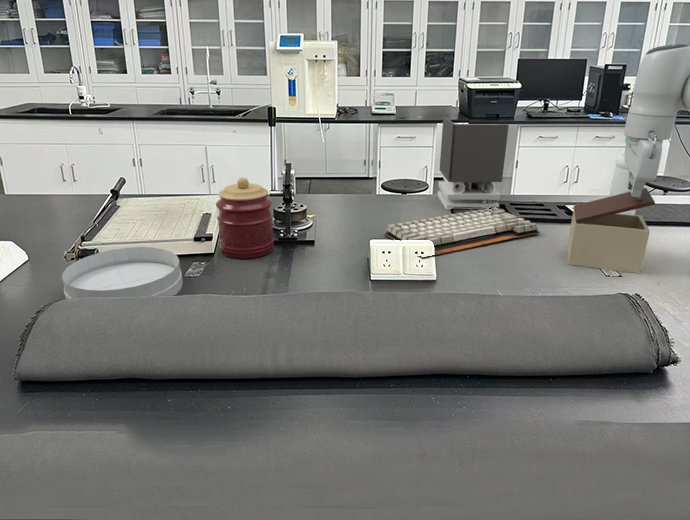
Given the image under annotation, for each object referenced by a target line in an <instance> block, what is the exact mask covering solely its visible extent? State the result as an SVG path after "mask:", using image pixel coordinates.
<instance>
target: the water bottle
mask: <svg viewBox="0 0 690 520" xmlns="http://www.w3.org/2000/svg"><path fill="white" fill-rule="evenodd" d="M626 139H627V136H625V139H624V142H625V143H624V144H625V145H626ZM624 157H625V148H624V149H623V150H621V153H620V155H619V156H618V157H617V158H616V160H615V168H614V171H613V175H612V180H611V185H610V189H609V197H611V196H615V195H619V194H623V193H627V192H631V190H629V189H628V188H627V184H628V176H629V168H628V166H627V165H626V163H625V160H624ZM636 211H637V209H634V210H630V211H626V212H622V213H620V214H630V215H636Z"/></svg>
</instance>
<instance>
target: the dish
mask: <svg viewBox="0 0 690 520" xmlns="http://www.w3.org/2000/svg"><path fill="white" fill-rule="evenodd" d="M180 263H181V262H180V259H179V257H178V255H176V254H175V253H173V252H172V251H170V250H167V249H164V248H158V247H151V246H149V247H147V246H143V247H142V246H135V247H123V248H115V249H109V250H105V251H101V252H97V253H94V254H90V255H88V256H85V257H83V258H81V259H78V260H76V261H74V262H72V263H71V264H70V265H68V266H67V267H66V268H65V269H64V271H63V272H62V276H61V280H62V285H63V294H64V298H65V300H66V299H71V298H87V297H139V296H165V295H175V296H177V294H178V293H179V292H180V291H181V290H182V288H183V284H184V281H183V272H182V269H181V264H180Z"/></svg>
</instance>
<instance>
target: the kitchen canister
mask: <svg viewBox="0 0 690 520" xmlns="http://www.w3.org/2000/svg"><path fill="white" fill-rule="evenodd" d="M268 194H269V190H268V189H266V188H264V187H262V186H261V185H260V184H257V183H252V182H251V183H250V182H249V180H248V178H246V177H239V178H238V179H237V182H236V183H234V184H230V185H227V186H225V187H224V189H222V190H220V191H219V192H218V196H219V197H220V199H218V200H216V203H215V207H216V208H217V210H218V215H217V217H216V220H217V225H218V235H219V241H218V243H219V248H220V251H221V254H223V255H224V256H226V257H228V258H233V259H245V260H246V259H254V258H259V257H264V256H266V255H268V254H270V253H271V252H272V251H273V250H274V247H275V237H274V224H273V222H274V221H273V218H274V214H273V212H272V210H271V206H272V205H273V200H272V199H271V198H270V197H269V196H268Z"/></svg>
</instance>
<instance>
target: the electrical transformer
mask: <svg viewBox="0 0 690 520" xmlns="http://www.w3.org/2000/svg"><path fill="white" fill-rule="evenodd" d="M441 130H442V131H441V145H440V156H439V171H440V172H441V174H442V178H443V180H444V181H443V180H441V181H438V184H437V185H438V188H439V189H440V190H438V191H437V197H438V199H439V201H440V202H441V204H442V205H443V207H444V208H445V210H446V211H452V210H451V209H452V208H454V207H482V208H491V207H499V208H500V204H499V203H498V202H499V200H501V193H500V192H499V191H498V190H497V189H496V188H495V187H494V184H493V183H503V177H504V168H505V167H504V166H505V162H506V161H505V160H506V151H507V142H508V134H509V124H508V123H507V124H505V123H504V124H502V123H498V124H497V123H455V122H453V121H452V120H451V119H449V118H447V116H443V117H442V129H441Z"/></svg>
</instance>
